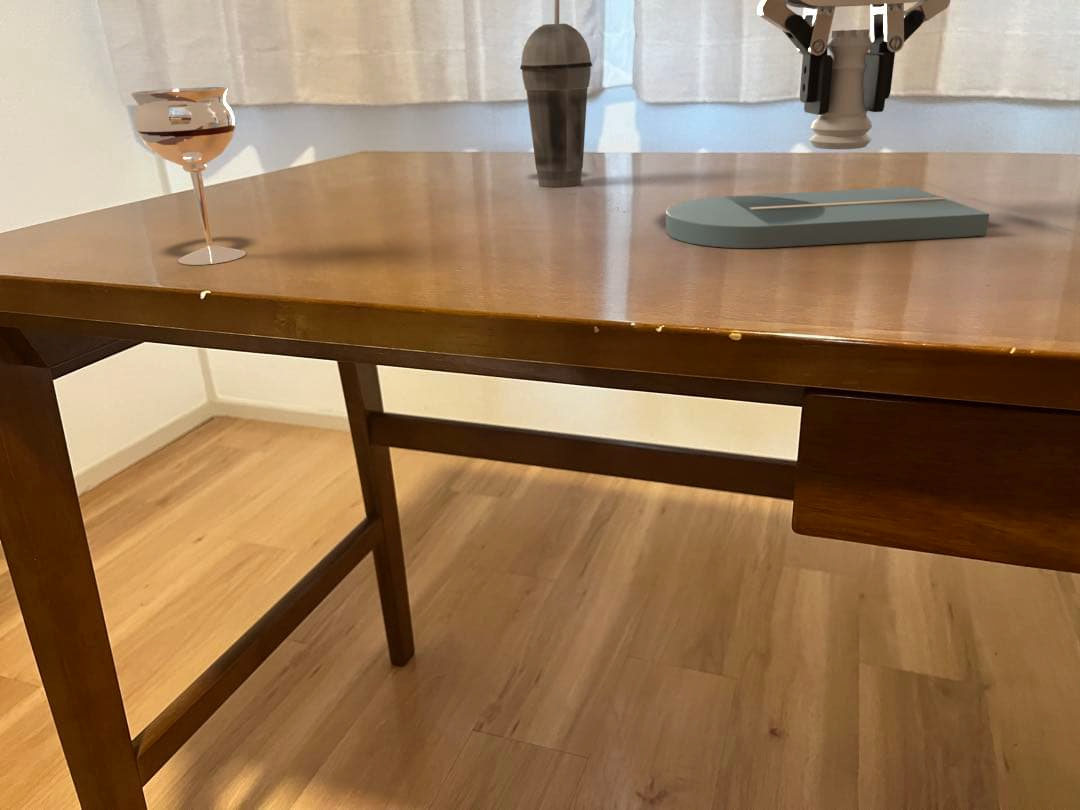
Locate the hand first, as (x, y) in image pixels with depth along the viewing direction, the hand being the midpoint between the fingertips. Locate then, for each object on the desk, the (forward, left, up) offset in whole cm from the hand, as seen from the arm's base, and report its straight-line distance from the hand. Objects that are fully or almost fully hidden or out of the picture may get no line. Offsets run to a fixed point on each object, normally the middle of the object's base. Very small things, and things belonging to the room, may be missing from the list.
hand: (843, 109), depth 63 cm
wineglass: (+48, -1, -9) cm, 49 cm away
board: (+1, 0, -9) cm, 9 cm away
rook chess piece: (0, 0, -3) cm, 3 cm away
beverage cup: (+19, -27, -9) cm, 34 cm away
